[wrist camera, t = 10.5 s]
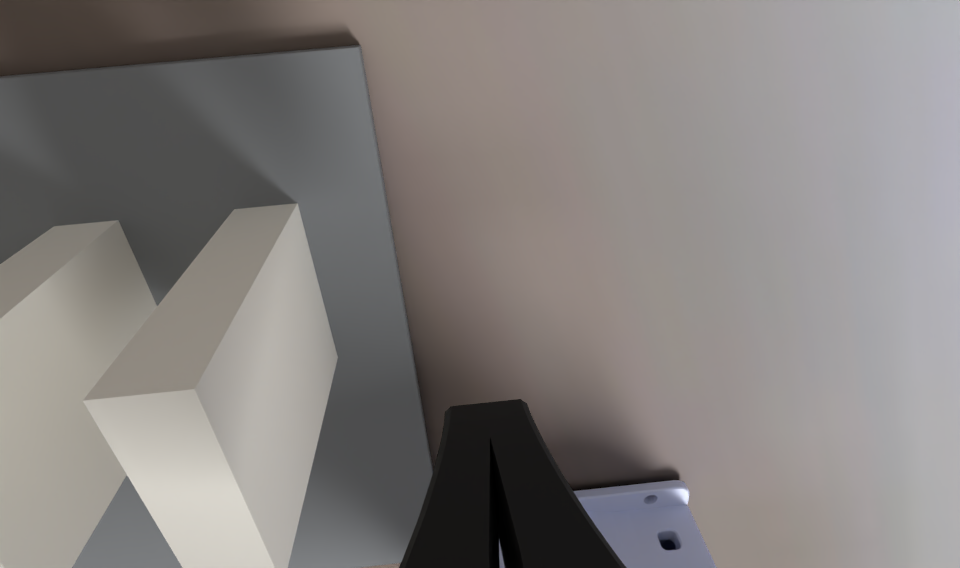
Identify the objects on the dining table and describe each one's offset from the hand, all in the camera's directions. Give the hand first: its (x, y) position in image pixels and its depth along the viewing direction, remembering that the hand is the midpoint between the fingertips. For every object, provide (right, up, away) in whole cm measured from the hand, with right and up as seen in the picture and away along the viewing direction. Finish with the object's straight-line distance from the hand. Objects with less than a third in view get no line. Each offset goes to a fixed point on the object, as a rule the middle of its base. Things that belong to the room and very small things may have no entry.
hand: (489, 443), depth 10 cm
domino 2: (-5, +3, +5) cm, 8 cm away
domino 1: (-10, +2, +5) cm, 11 cm away
